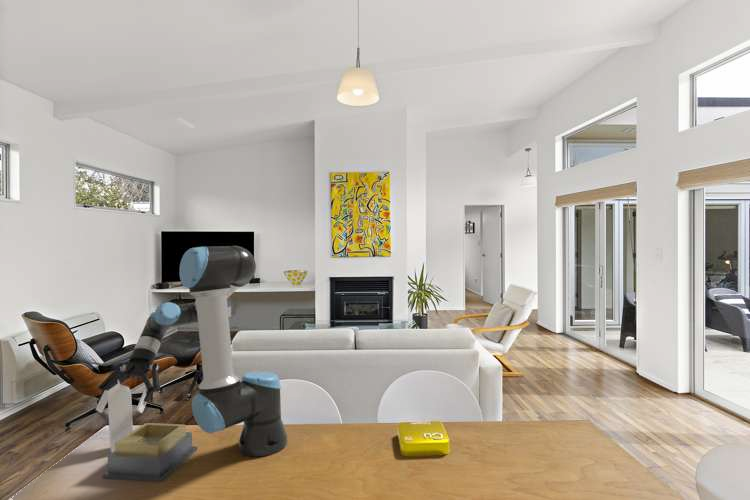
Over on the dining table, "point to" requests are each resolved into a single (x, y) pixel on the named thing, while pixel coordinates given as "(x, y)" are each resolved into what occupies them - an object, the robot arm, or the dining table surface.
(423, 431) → the element tile
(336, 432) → the dining table surface
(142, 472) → the grey tan square box
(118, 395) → the milk
